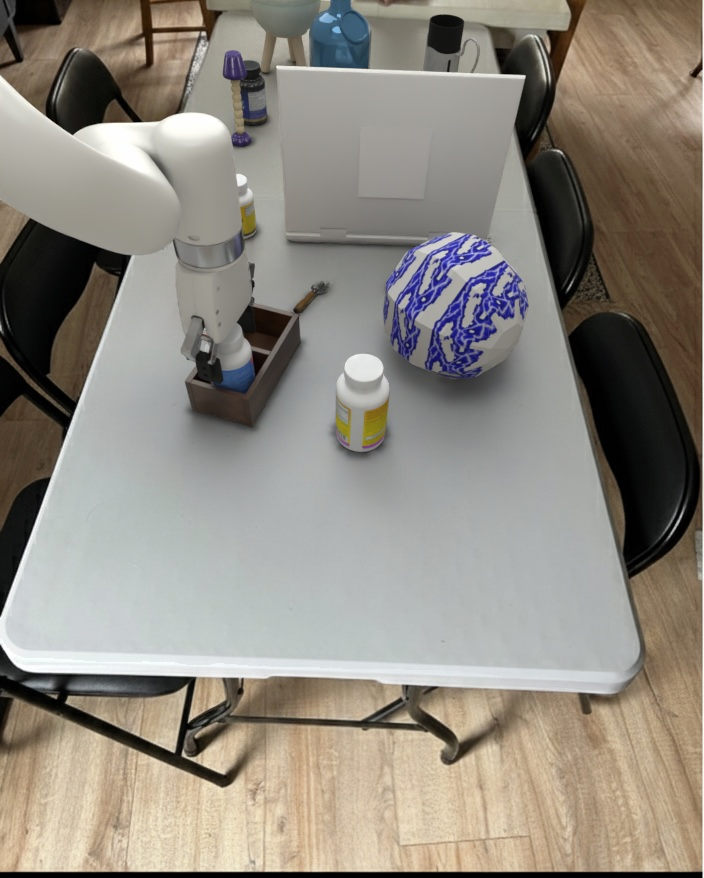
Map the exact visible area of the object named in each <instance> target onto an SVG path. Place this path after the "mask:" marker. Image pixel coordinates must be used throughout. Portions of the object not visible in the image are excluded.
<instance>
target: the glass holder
mask: <svg viewBox="0 0 704 878" xmlns="http://www.w3.org/2000/svg"><path fill="white" fill-rule="evenodd" d="M464 27H465V20H464V19H463V18H462V17H460V16H458V15H454V14H446V13H445V14H443V13H442V14H435V15H432V16H431V17H429V23H428V32H427V34H426V35H427V36H426V41H425V51H424V60H423V68H422V71H427V72H452V73H459V72H458V71H459V67H460V58H461V57H463V55H464V54H465V52H466V51H465V50H466V46H467V44H468V42H469V41H472V42H473V43H474V44H475V46H476V50H477V51H476V57H475V60H474V64H473V66H472V69H471V70H470V71H469V73H474V72H475V70H476V68H477V65H478V63H479V59H480V55H481V48H480V47H481V45H480V42H479V41H478V40H477V39H476V38H474V37H469V38H467V39H465V41H464V42H463V45H462V40H463V36H464V35H463V34H464Z"/></svg>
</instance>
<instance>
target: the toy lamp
mask: <svg viewBox="0 0 704 878" xmlns="http://www.w3.org/2000/svg"><path fill="white" fill-rule="evenodd" d="M246 76H247V71H246V68H245V65H244V58H243V56H242V53H241V52H240V51H238V50H237V49H232V50H231V49H230V50H227V51H226V52H225V53H224V58H223V66H222V77H223V78H224V79H226V80H228V81H230V84H231V87H230V90H231V93H232V95H231V98H232V101H233V102H232V107H233V115H234V124H235V132H233V133H232V135H231V139H232V145H233V146H237V147H245V146H249V145H251V143H252V137H251V135H250V134H249V133H248V132H247V131H245V126H244V120H243V111H242V103H241V94H240V91H241V89H240V85H239V84H240V80H241V79H244V78H246Z"/></svg>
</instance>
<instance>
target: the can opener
mask: <svg viewBox="0 0 704 878" xmlns="http://www.w3.org/2000/svg"><path fill="white" fill-rule="evenodd" d="M315 286H316V284H312V285H311V286H310V289H311V291H308V293H307V294H306V295H305V296H304V298H302V299H301V300H300V301H299V302H298V303H297V304H296V305H295V306H294V307H293V308H292V311H293V312H292V313H295V314H299V313H300V312H302V311H303V309H305V308H306V307H307V306H308V304H309V303H310V301H312V300H313V299H314V298H315V297H316V295H317V294H324V293H326V292H327V291H328V290H329V287H330V284H329V282H327V283H325V281H323V280H321V281H320V283H318V285H317V286H316V287H315Z"/></svg>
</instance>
